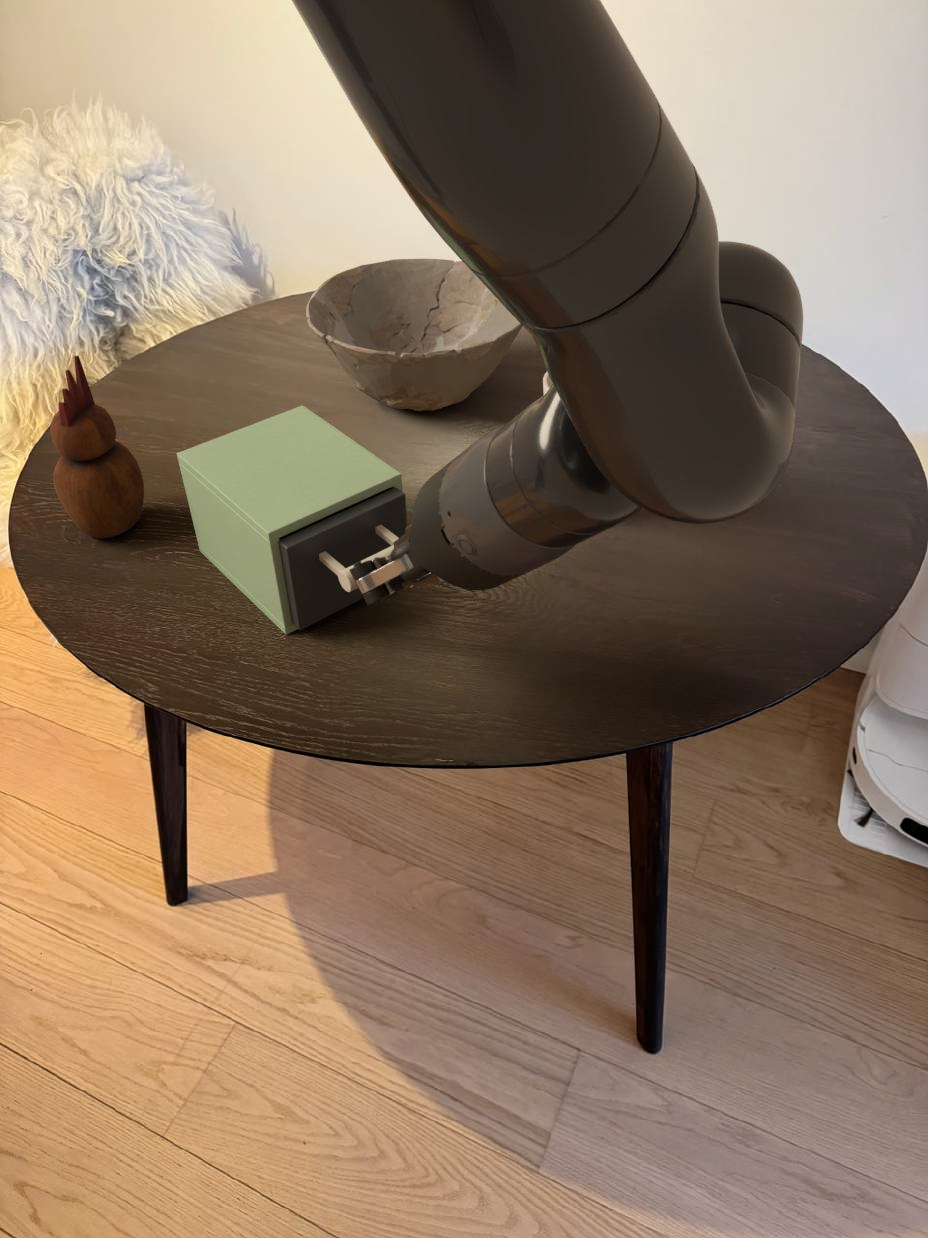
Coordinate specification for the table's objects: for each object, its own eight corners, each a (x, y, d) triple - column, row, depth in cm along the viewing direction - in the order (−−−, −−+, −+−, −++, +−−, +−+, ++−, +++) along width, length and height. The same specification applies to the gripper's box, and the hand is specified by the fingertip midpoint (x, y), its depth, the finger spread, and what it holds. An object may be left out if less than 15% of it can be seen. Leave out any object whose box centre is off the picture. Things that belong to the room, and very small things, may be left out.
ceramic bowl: (518, 340, 108) (522, 253, 102) (536, 446, 91) (541, 350, 84) (326, 343, 108) (316, 256, 101) (307, 451, 91) (294, 354, 84)
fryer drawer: (443, 601, 73) (442, 519, 68) (332, 662, 68) (321, 578, 63) (323, 505, 82) (313, 427, 77) (217, 552, 77) (199, 472, 72)
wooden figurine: (122, 496, 85) (76, 340, 75) (165, 518, 82) (123, 360, 72) (59, 533, 81) (1, 373, 71) (101, 557, 78) (48, 395, 68)
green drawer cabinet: (407, 572, 77) (401, 473, 70) (286, 635, 71) (268, 533, 65) (315, 500, 84) (302, 404, 78) (199, 551, 79) (175, 452, 73)
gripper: (561, 406, 54) (438, 496, 69) (373, 489, 48) (284, 569, 63) (620, 522, 54) (485, 586, 70) (441, 620, 48) (336, 667, 63)
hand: (389, 578), depth 66 cm, fingers closed
